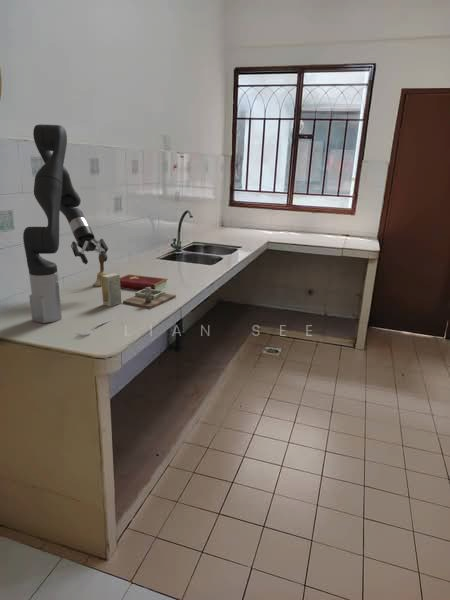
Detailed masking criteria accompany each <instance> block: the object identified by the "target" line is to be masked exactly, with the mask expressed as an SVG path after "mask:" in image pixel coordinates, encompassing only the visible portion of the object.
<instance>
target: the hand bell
mask: <svg viewBox="0 0 450 600" xmlns="http://www.w3.org/2000/svg"><path fill="white" fill-rule="evenodd" d="M98 262H99V265H100V266H99V272H98V273H96V274H97V275H96V280H95V282H93V285H94V286H95V287H102V282H101V276H102V275H107V274H108V273H107V272H106V271H105V268H104V263H105V262H104V261H103V258H102V256H101V254H100V253H98Z"/></svg>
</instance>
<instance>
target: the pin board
mask: <svg viewBox="0 0 450 600" xmlns="http://www.w3.org/2000/svg"><path fill="white" fill-rule="evenodd" d="M175 298H177V294H173V293H172V294H171V293H167V292H166V291H165V290H161V289H160V290H154V289H151V287H146V288H145V289H143V290H137V291H135V292H134V296H132V297H129V298H126V299H124V300H122V304H125V305H131V306H135V307H141V308H146V309H154V308H156V307H158V306H160V305H163V304H164V303H167V302H169V301H171V300H173V299H175Z"/></svg>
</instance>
